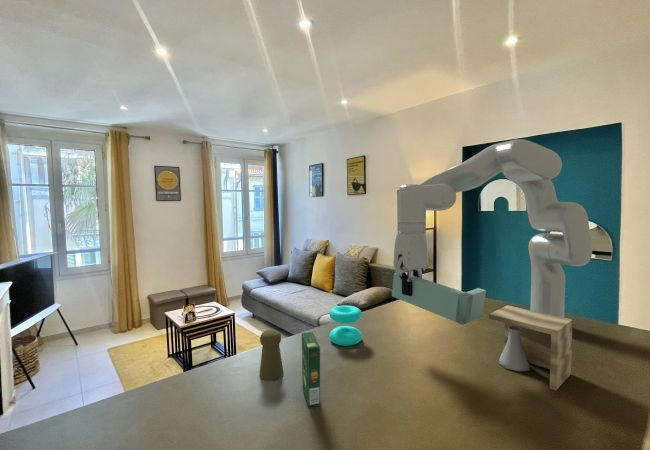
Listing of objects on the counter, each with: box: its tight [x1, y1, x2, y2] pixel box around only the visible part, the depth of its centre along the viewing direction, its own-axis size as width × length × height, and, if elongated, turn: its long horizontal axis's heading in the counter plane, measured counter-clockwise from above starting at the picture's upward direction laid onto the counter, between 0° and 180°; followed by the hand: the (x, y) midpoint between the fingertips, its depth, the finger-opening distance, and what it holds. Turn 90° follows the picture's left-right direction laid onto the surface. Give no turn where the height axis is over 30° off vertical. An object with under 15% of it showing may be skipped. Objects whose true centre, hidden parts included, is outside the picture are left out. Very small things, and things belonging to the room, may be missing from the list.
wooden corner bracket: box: [488, 304, 573, 392], centre depth 82 cm, size 11×15×14 cm
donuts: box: [329, 304, 363, 347], centre depth 101 cm, size 10×10×10 cm
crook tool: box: [391, 272, 487, 326], centre depth 90 cm, size 10×22×7 cm, turn 39°
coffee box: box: [301, 331, 321, 408], centre depth 71 cm, size 8×3×13 cm, turn 13°
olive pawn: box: [258, 329, 284, 382], centre depth 81 cm, size 6×6×11 cm
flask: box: [498, 326, 531, 372], centre depth 84 cm, size 7×7×10 cm
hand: (411, 293), depth 92 cm, fingers closed on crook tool, 3 cm apart
